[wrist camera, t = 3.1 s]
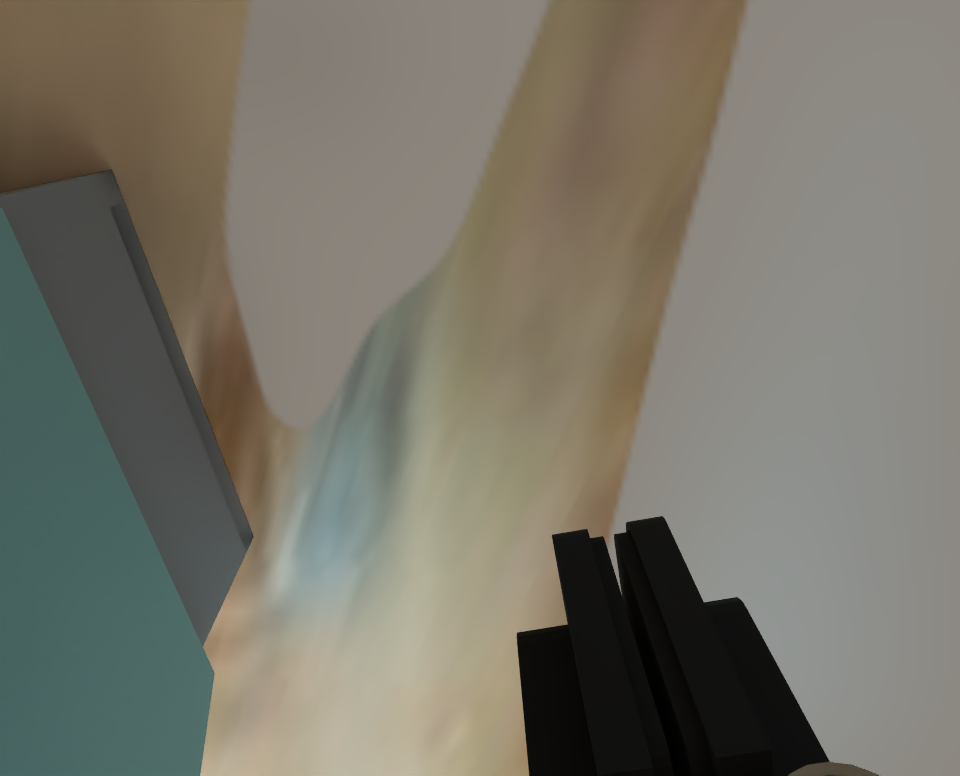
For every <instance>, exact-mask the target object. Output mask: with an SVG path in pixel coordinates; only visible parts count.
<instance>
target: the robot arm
mask: <svg viewBox="0 0 960 776" xmlns="http://www.w3.org/2000/svg"><path fill="white" fill-rule="evenodd" d="M552 539H553V544H554V550H555V556H556V561H557V567H558V572H559V578H560V583H561V589H562V595H563V600H564V606H565V611H566V617H567V622H568V625H562V626H556V627H550V628H543V629H537V630H531V631H525V632H519V633H517V646H518V657H519V667H520V678H521V689H522V700H523V711H524V722H525V733H526V744H527V755H528V766H529V776H879V775H878V774H876V773H873V772H871V771H868V770H865V769H862V768H859V767H857V766H854V765H850V764H842V763H833V762H830V761H829V760H828V758H827V756H826V754H825V752H824V750H823V749H822V747H821V745H820V743H819V741H818V739H817V737H816V736H815V734H814V732H813V730H812V728H811V726H810V724H809V723H808V721H807V719H806V717H805V715H804V713H803V712H802V710H801V708H800V706H799V704H798V702H797V700H796V699H795V697H794V695H793V693H792V691H791V690H790V688H789V686H788V684H787V682H786V680H785V678H784V676H783V675H782V673H781V671H780V669H779V667H778V666H777V663H776V662H775V660H774V658H773V656H772V654H771V652H770V651H769V649H768V647H767V645H766V643H765V641H764V639H763V638H762V636H761V634H760V632H759V630H758V628H757V627H756V625H755V623H754V621H753V619H752V617H751V616H750V614H749V612H748V610H747V608H746V607H745V605H744V603H743V602H742V601H741V600H740V599H739V598H738V597H735V598H729V599H723V600H717V601H711V602H703V600H702V598H701V596H700V593H699V591H698V589H697V587H696V585H695V583H694V581H693V578H692V576H691V574H690V572H689V570H688V568H687V565H686V563H685V561H684V559H683V557H682V555H681V552H680V550H679V549H678V546H677V544H676V542H675V540H674V538H673V535H672V533H671V531H670V529H669V527H668V524H667V522H666V521H665V519H664V517H662V516H661V517H655V518H649V519H643V520H637V521H631V522H627V523H626V533H620V534H614V541H615V548H616V556H617V563H618V570H619V577H620V584H621V592H622V595H621V592H620V589H619V585H618V582H617V579H616V575H615V572H614V569H613V566H612V563H611V559H610V556H609V553H608V549H607V546H606V543H605V540H604V537H603V536H601V537H596V538H590V537H589V533H588V530H587V529H584V530H578V531H572V532H566V533H560V534H554V535H552Z"/></svg>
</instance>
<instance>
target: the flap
mask: <svg viewBox="0 0 960 776" xmlns="http://www.w3.org/2000/svg"><path fill="white" fill-rule="evenodd" d="M213 680H214V671H213V669H212V667H211V664H210V662H209V660H208V658H207V656H206V653H205V651H204V649H203V647H202V645H201V642H200V640H199V638H198V636H197V634H196V631H195V629H194V627H193V625H192V623H191V620H190V618H189V616H188V614H187V612H186V610H185V607H184V605H183V603H182V601H181V599H180V596H179V594H178V592H177V590H176V588H175V585H174V583H173V581H172V579H171V577H170V574H169V572H168V570H167V568H166V566H165V563H164V561H163V559H162V557H161V555H160V553H159V550H158V548H157V546H156V544H155V542H154V539H153V537H152V535H151V533H150V531H149V528H148V526H147V524H146V522H145V520H144V517H143V515H142V513H141V511H140V509H139V506H138V504H137V502H136V500H135V498H134V496H133V493H132V491H131V489H130V487H129V485H128V482H127V480H126V478H125V476H124V474H123V471H122V469H121V467H120V465H119V463H118V460H117V458H116V456H115V454H114V452H113V449H112V447H111V445H110V443H109V441H108V439H107V436H106V434H105V432H104V430H103V428H102V425H101V423H100V421H99V419H98V417H97V414H96V412H95V410H94V408H93V406H92V403H91V401H90V399H89V397H88V395H87V392H86V390H85V388H84V386H83V384H82V382H81V379H80V377H79V375H78V373H77V371H76V368H75V366H74V364H73V362H72V360H71V357H70V355H69V353H68V351H67V349H66V346H65V344H64V342H63V340H62V338H61V335H60V333H59V331H58V329H57V327H56V325H55V322H54V320H53V318H52V316H51V314H50V311H49V309H48V307H47V305H46V303H45V300H44V298H43V296H42V294H41V292H40V289H39V287H38V285H37V283H36V281H35V278H34V276H33V274H32V272H31V270H30V268H29V265H28V263H27V261H26V259H25V257H24V254H23V252H22V250H21V248H20V246H19V243H18V241H17V239H16V237H15V235H14V232H13V230H12V228H11V226H10V224H9V221H8V219H7V217H6V215H5V213H4V211H3V208H0V776H200V772H201V765H202V758H203V750H204V743H205V736H206V729H207V722H208V715H209V708H210V701H211V694H212V687H213Z"/></svg>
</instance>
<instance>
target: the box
mask: <svg viewBox="0 0 960 776" xmlns="http://www.w3.org/2000/svg"><path fill="white" fill-rule="evenodd" d="M0 208H3V211H4V213H5V215H6V217H7V219H8V221H9V224H10V226H11V228H12V230H13V232H14V235H15V237H16V239H17V241H18V243H19V246H20V248H21V250H22V252H23V254H24V257H25V259H26V261H27V263H28V265H29V268H30V270H31V272H32V274H33V276H34V278H35V281H36V283H37V285H38V287H39V289H40V292H41V294H42V296H43V298H44V300H45V303H46V305H47V307H48V309H49V311H50V314H51V316H52V318H53V320H54V322H55V325H56V327H57V329H58V331H59V333H60V335H61V338H62V340H63V342H64V344H65V346H66V349H67V351H68V353H69V355H70V357H71V360H72V362H73V364H74V366H75V368H76V371H77V373H78V375H79V377H80V379H81V382H82V384H83V386H84V388H85V390H86V392H87V395H88V397H89V399H90V401H91V403H92V406H93V408H94V410H95V412H96V414H97V417H98V419H99V421H100V423H101V425H102V428H103V430H104V432H105V434H106V436H107V439H108V441H109V443H110V445H111V447H112V449H113V452H114V454H115V456H116V458H117V460H118V463H119V465H120V467H121V469H122V471H123V474H124V476H125V478H126V480H127V482H128V485H129V487H130V489H131V491H132V493H133V496H134V498H135V500H136V502H137V504H138V506H139V509H140V511H141V513H142V515H143V517H144V520H145V522H146V524H147V526H148V528H149V531H150V533H151V535H152V537H153V539H154V542H155V544H156V546H157V548H158V550H159V553H160V555H161V557H162V559H163V561H164V563H165V566H166V568H167V570H168V572H169V574H170V577H171V579H172V581H173V583H174V585H175V588H176V590H177V592H178V594H179V596H180V599H181V601H182V603H183V605H184V607H185V610H186V612H187V614H188V616H189V618H190V620H191V623H192V625H193V627H194V629H195V631H196V634H197V636H198V638H199V640H200V642H201V645H202V647H203V645H204V643H205V641H206V638H207V636H208V634H209V632H210V630H211V628H212V625H213V623H214V621H215V619H216V617H217V615H218V613H219V610H220V608H221V606H222V604H223V602H224V600H225V597H226V595H227V593H228V591H229V589H230V587H231V585H232V582H233V580H234V578H235V576H236V574H237V572H238V569H239V567H240V565H241V563H242V561H243V559H244V557H245V554H246V552H247V550H248V548H249V546H250V544H251V541H252V539H253V535H252V532H251V529H250V527H249V524H248V522H247V519H246V516H245V514H244V511H243V509H242V506H241V503H240V501H239V498H238V496H237V493H236V491H235V488H234V485H233V483H232V480H231V478H230V475H229V472H228V470H227V467H226V465H225V462H224V459H223V457H222V454H221V452H220V449H219V447H218V444H217V441H216V439H215V436H214V434H213V431H212V428H211V426H210V423H209V421H208V418H207V415H206V413H205V410H204V408H203V405H202V403H201V400H200V397H199V395H198V392H197V390H196V387H195V384H194V382H193V379H192V377H191V374H190V371H189V369H188V366H187V364H186V361H185V359H184V356H183V353H182V351H181V348H180V346H179V343H178V340H177V338H176V335H175V333H174V330H173V327H172V325H171V322H170V320H169V317H168V315H167V312H166V309H165V307H164V304H163V302H162V299H161V296H160V294H159V291H158V289H157V286H156V283H155V281H154V278H153V276H152V273H151V270H150V268H149V265H148V263H147V260H146V258H145V255H144V252H143V250H142V247H141V245H140V242H139V239H138V237H137V234H136V232H135V229H134V226H133V224H132V221H131V219H130V216H129V214H128V211H127V208H126V206H125V203H124V201H123V198H122V195H121V193H120V190H119V188H118V185H117V182H116V180H115V177H114V175H113V172H112V170H109V171H104V172H99V173H94V174H89V175H84V176H80V177H75V178H70V179H65V180H60V181H56V182H51V183H46V184H41V185H36V186H31V187H27V188H22V189H17V190H12V191H7V192H2V193H0Z"/></svg>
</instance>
